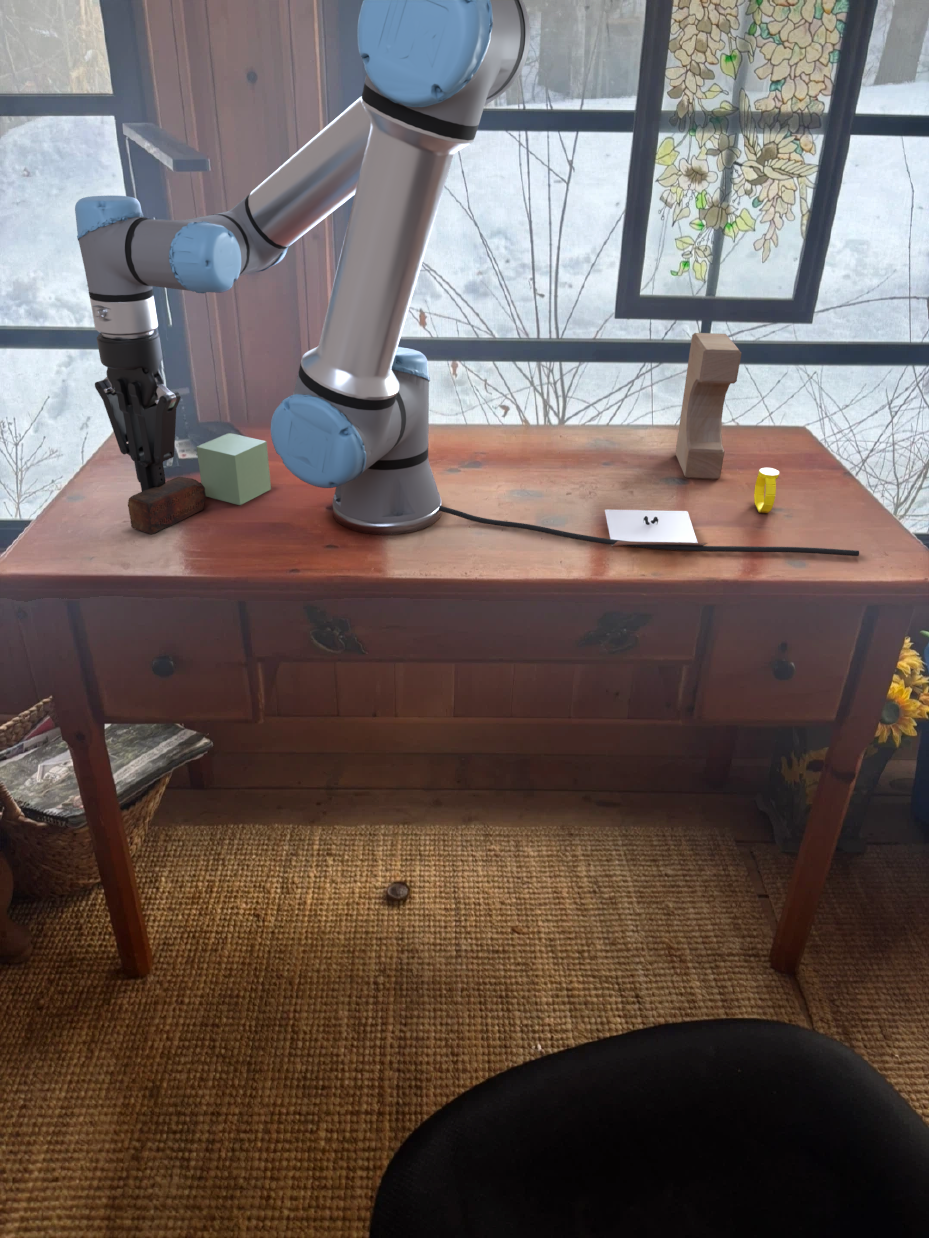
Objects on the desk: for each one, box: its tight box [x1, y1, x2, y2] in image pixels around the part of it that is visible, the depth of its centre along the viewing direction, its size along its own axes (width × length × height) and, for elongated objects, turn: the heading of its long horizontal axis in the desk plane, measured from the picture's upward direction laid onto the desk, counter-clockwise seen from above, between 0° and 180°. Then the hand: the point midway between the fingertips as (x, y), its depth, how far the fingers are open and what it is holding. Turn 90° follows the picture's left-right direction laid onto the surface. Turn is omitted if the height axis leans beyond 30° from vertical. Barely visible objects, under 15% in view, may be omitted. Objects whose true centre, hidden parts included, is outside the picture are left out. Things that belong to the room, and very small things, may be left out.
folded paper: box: [604, 509, 708, 547], centre depth 124 cm, size 12×12×2 cm
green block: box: [195, 432, 272, 506], centre depth 133 cm, size 7×7×8 cm
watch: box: [753, 467, 780, 514], centre depth 132 cm, size 6×3×6 cm, turn 177°
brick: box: [127, 476, 207, 535], centre depth 125 cm, size 11×4×5 cm, turn 152°
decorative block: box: [674, 332, 742, 480], centre depth 142 cm, size 11×6×20 cm, turn 176°
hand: (155, 505), depth 126 cm, fingers closed
